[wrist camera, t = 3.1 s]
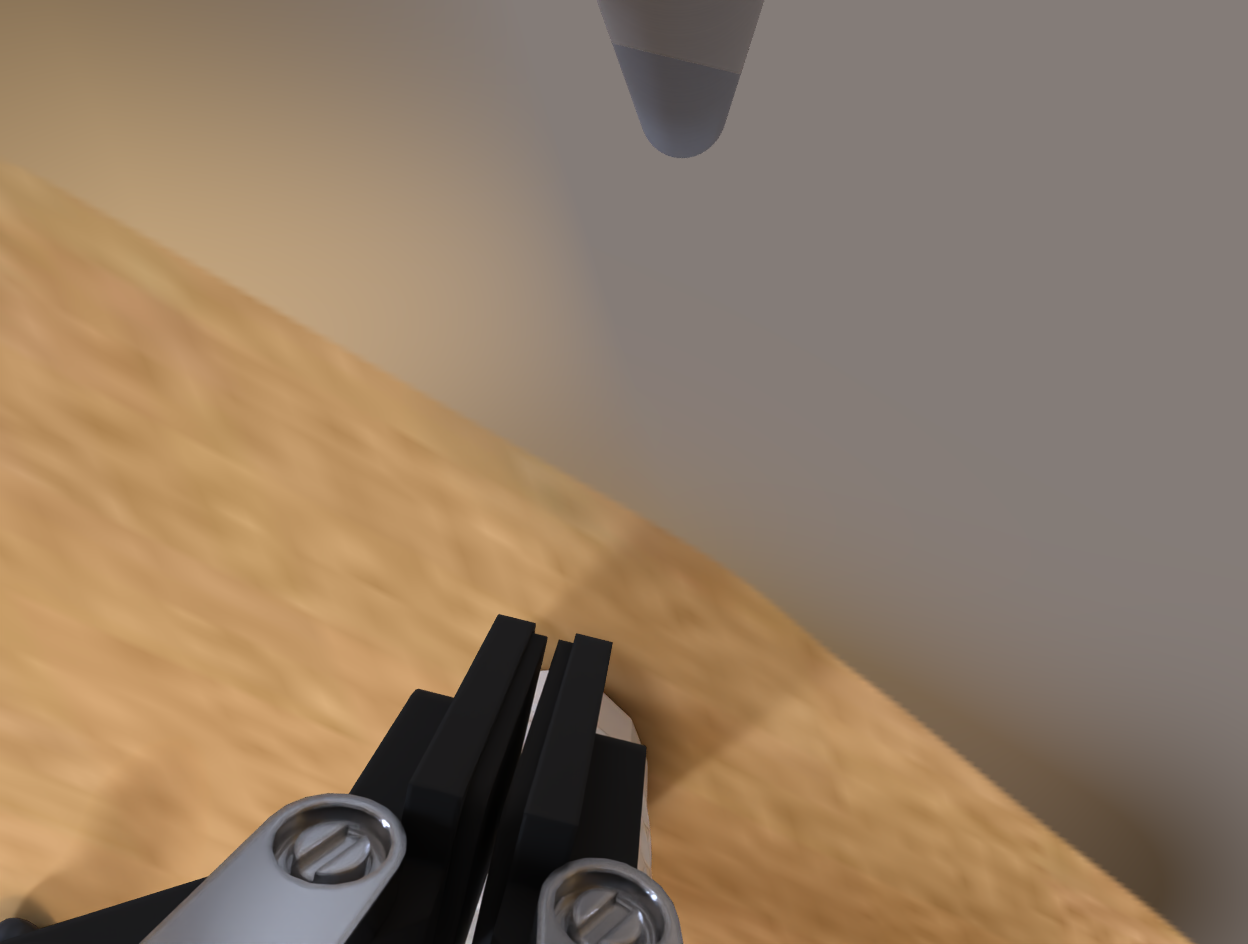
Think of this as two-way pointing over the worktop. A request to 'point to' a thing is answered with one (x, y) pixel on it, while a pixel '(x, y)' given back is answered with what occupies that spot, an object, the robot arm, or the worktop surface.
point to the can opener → (15, 928)
